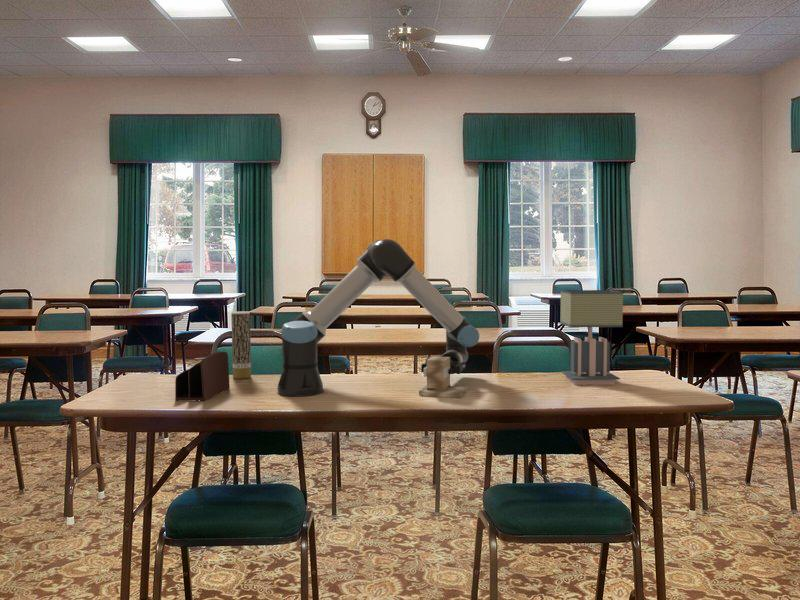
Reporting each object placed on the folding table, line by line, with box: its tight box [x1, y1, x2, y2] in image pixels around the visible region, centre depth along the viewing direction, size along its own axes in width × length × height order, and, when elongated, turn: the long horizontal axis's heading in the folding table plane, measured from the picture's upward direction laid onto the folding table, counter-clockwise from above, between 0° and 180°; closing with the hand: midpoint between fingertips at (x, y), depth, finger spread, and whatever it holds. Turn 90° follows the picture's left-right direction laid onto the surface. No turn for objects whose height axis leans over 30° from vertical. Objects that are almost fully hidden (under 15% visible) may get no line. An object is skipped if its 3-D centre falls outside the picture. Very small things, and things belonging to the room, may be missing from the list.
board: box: [418, 384, 469, 399], centre depth 206 cm, size 14×11×2 cm
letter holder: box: [174, 351, 231, 402], centre depth 207 cm, size 10×20×14 cm, turn 172°
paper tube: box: [230, 310, 252, 380], centre depth 235 cm, size 7×7×25 cm
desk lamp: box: [559, 289, 624, 386], centre depth 224 cm, size 18×14×33 cm
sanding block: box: [426, 355, 451, 391], centre depth 207 cm, size 6×8×10 cm
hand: (434, 373), depth 202 cm, fingers closed on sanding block, 6 cm apart
